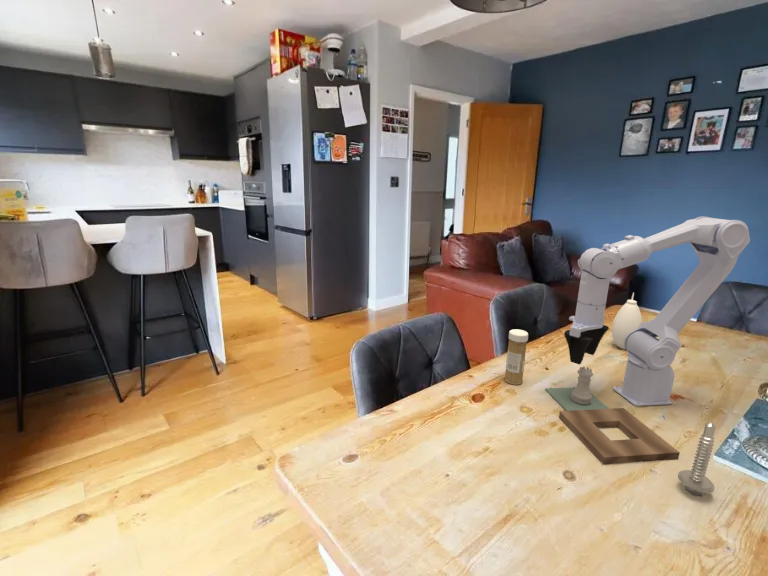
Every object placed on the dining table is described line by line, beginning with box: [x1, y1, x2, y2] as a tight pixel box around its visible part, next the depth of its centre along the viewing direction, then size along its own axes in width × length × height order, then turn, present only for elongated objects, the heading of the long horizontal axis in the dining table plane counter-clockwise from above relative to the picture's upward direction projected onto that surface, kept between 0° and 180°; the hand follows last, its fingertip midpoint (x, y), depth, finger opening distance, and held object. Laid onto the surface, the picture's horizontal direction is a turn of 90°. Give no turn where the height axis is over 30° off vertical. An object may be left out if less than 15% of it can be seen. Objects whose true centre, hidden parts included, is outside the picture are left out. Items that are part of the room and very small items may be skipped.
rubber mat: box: [544, 386, 610, 411], centre depth 94 cm, size 10×10×1 cm
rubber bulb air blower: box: [611, 292, 643, 350], centre depth 123 cm, size 8×8×18 cm
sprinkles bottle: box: [503, 328, 529, 386], centre depth 101 cm, size 5×5×13 cm
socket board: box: [558, 407, 680, 465], centre depth 81 cm, size 15×15×2 cm
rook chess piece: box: [571, 366, 594, 405], centre depth 92 cm, size 4×4×8 cm
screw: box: [677, 422, 716, 498], centre depth 65 cm, size 13×5×5 cm
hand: (582, 358), depth 94 cm, fingers open, 7 cm apart
